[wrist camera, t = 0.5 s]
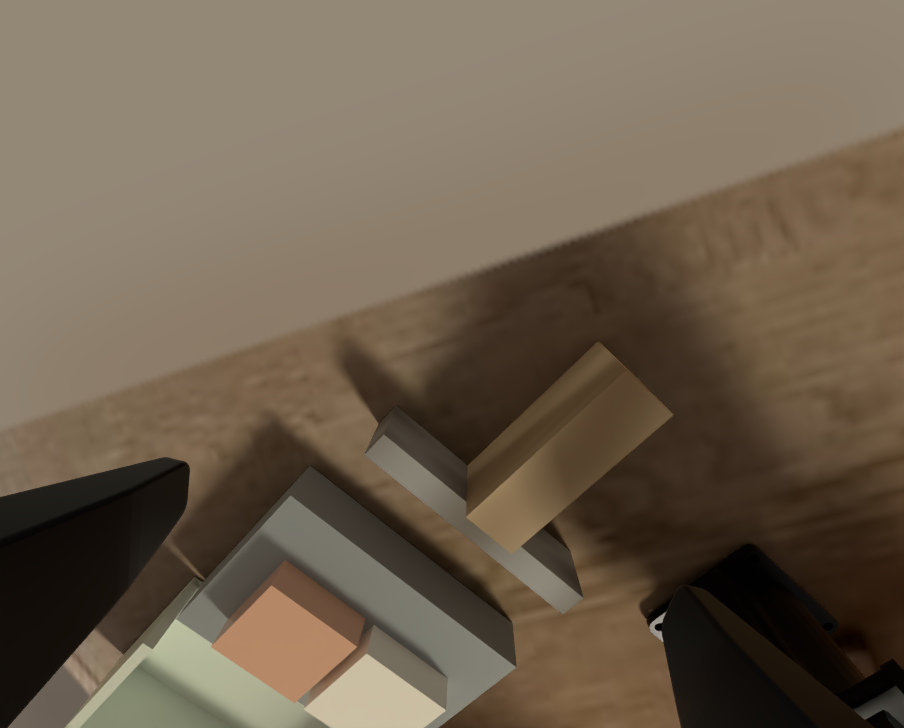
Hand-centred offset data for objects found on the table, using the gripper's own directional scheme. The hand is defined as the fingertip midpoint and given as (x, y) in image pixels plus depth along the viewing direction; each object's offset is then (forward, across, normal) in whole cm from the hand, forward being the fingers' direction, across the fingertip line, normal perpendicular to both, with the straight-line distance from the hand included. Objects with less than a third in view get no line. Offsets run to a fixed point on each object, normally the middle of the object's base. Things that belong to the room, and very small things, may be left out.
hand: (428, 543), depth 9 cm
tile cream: (+10, 0, +15) cm, 18 cm away
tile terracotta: (+10, +4, +13) cm, 17 cm away
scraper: (+13, -4, +2) cm, 14 cm away
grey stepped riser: (+13, +2, +14) cm, 19 cm away
